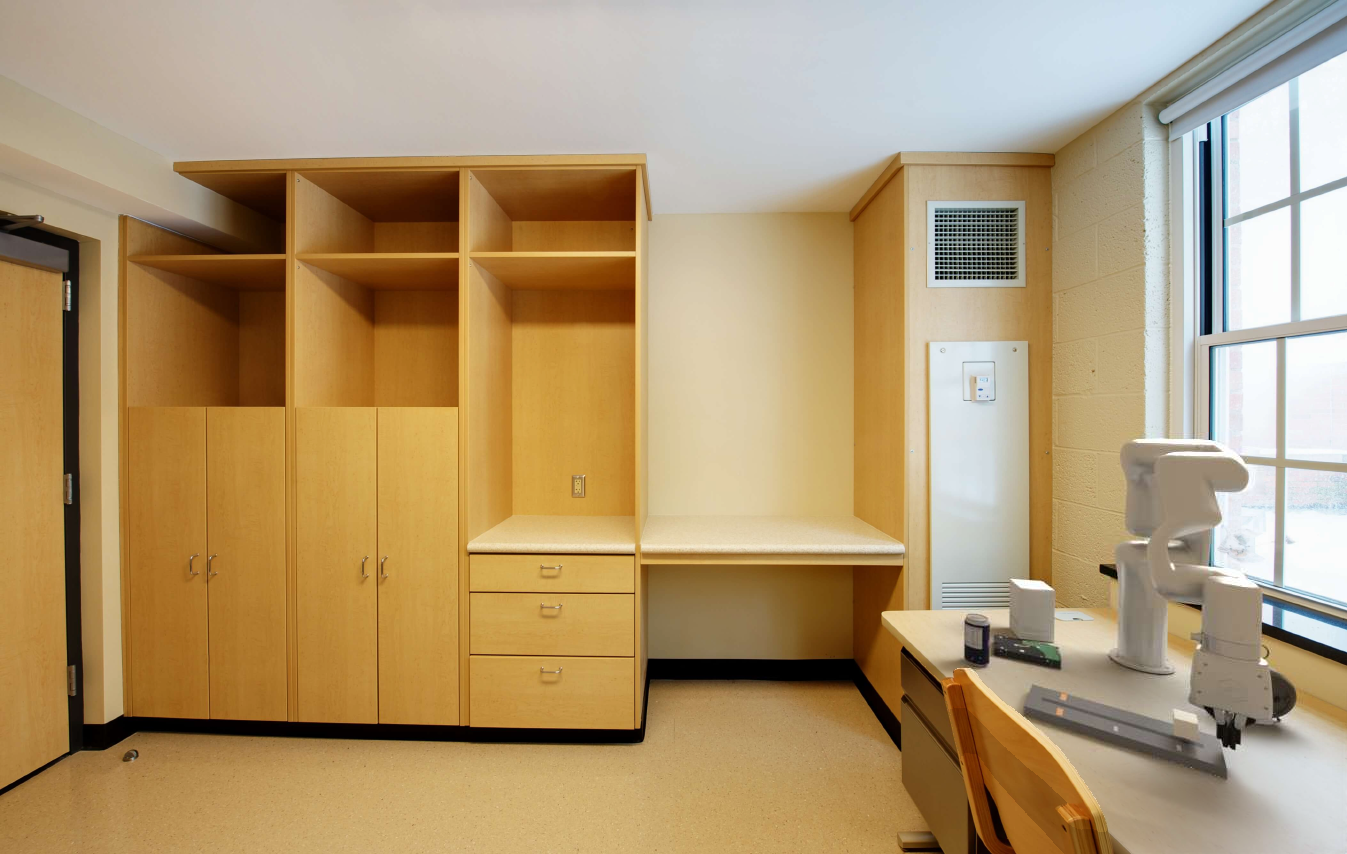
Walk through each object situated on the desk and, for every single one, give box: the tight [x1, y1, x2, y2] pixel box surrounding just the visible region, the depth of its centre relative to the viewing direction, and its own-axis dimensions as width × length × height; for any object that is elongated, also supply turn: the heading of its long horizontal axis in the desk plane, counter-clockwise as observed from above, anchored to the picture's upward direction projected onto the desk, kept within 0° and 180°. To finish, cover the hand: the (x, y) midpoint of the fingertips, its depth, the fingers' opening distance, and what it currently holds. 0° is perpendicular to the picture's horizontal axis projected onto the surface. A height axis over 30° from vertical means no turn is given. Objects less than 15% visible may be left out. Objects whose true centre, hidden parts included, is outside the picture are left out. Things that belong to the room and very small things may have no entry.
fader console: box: [1023, 683, 1228, 780], centre depth 107 cm, size 12×30×2 cm, turn 48°
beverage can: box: [963, 613, 991, 668], centre depth 136 cm, size 6×6×12 cm
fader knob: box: [1172, 708, 1199, 742], centre depth 100 cm, size 4×3×4 cm
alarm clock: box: [1224, 643, 1297, 726], centre depth 110 cm, size 11×5×16 cm, turn 71°
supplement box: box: [1008, 578, 1056, 643], centre depth 153 cm, size 9×9×15 cm
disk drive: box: [992, 634, 1062, 670], centre depth 140 cm, size 10×3×15 cm
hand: (1228, 745), depth 96 cm, fingers closed
